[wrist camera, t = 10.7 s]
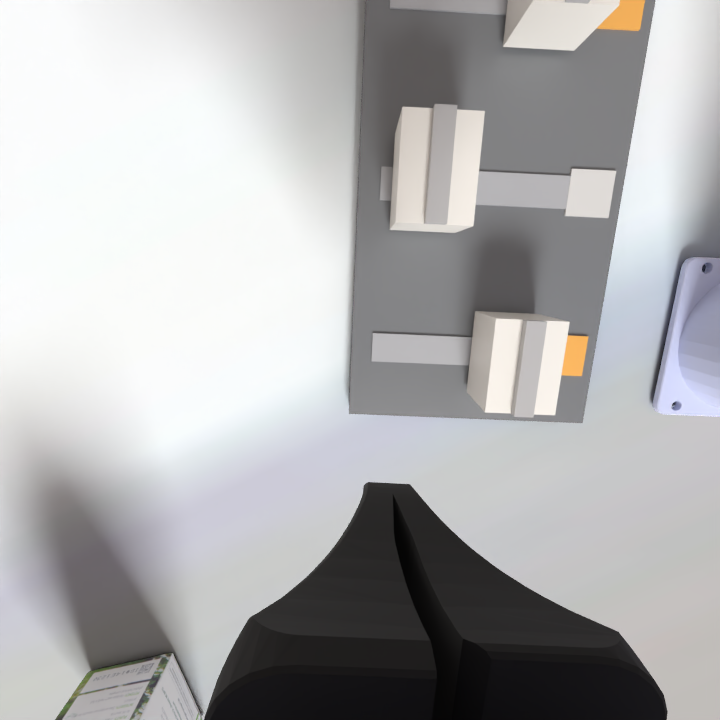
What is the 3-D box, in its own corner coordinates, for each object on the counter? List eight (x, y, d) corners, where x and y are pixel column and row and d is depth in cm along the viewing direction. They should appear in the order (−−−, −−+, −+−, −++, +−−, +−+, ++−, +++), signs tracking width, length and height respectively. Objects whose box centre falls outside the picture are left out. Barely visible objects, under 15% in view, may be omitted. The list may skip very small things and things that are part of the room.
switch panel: (654, -78, 17) (674, -102, 16) (572, 416, 22) (583, 424, 21) (370, -95, 17) (370, -121, 16) (349, 407, 22) (348, 414, 21)
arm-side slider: (537, 313, 19) (574, 323, 16) (526, 394, 20) (559, 418, 17) (475, 311, 19) (499, 319, 16) (466, 391, 20) (488, 415, 17)
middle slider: (463, 137, 18) (488, 106, 14) (455, 233, 19) (476, 225, 15) (395, 133, 18) (403, 101, 14) (389, 229, 19) (396, 221, 15)
